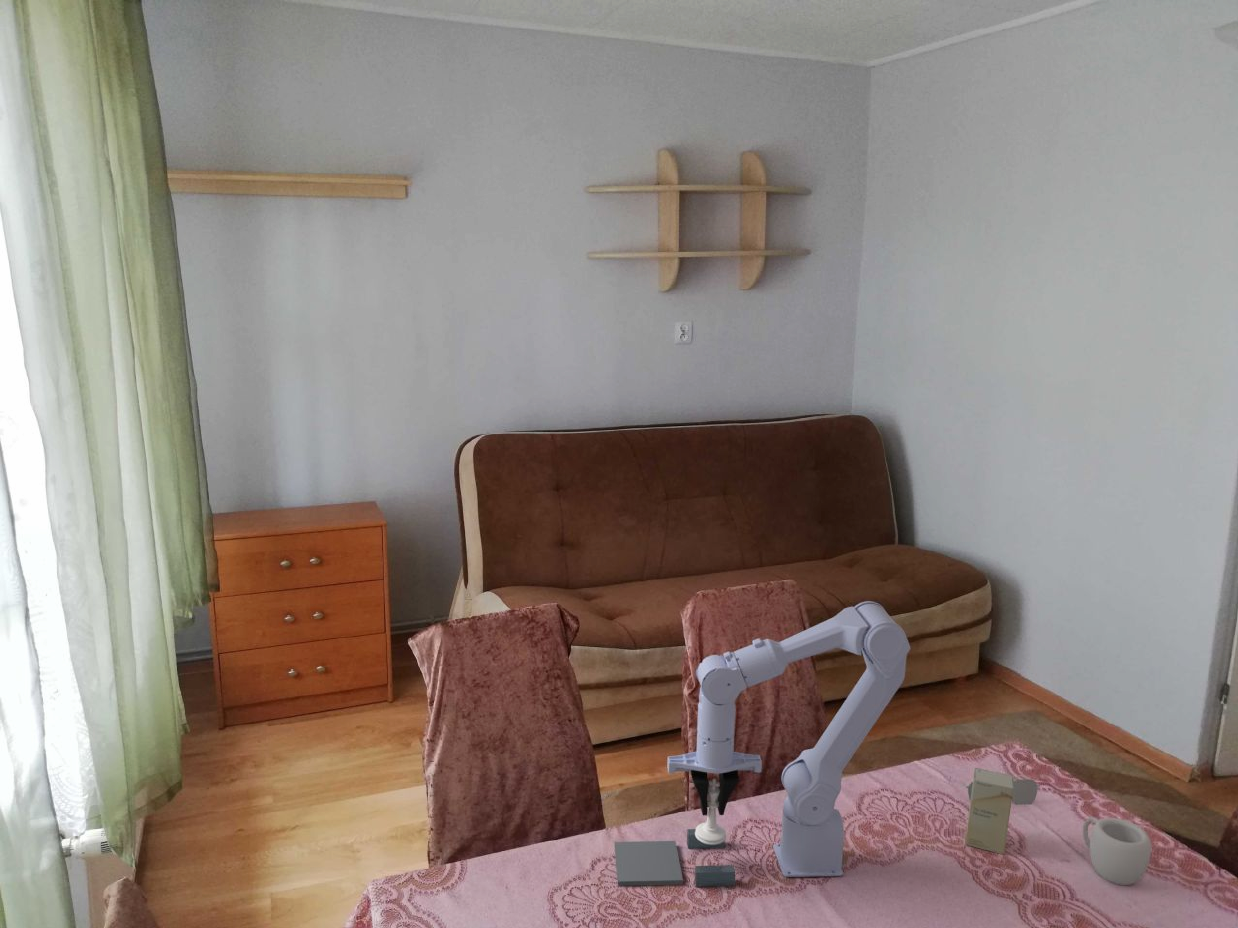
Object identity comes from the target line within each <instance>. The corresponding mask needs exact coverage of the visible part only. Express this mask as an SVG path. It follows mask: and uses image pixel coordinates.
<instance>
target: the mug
mask: <svg viewBox="0 0 1238 928" xmlns="http://www.w3.org/2000/svg"><path fill="white" fill-rule="evenodd" d="M1092 822H1094V825H1093V827H1092V831H1091V833H1090V837H1089V825H1090V823H1092ZM1082 836H1083V840H1084V842H1085V844H1086V845H1087V847H1088V848H1089V855H1090V860H1091V863H1092V864H1091V865H1092V867H1093V868H1094V870H1095V871H1096V873H1097V875H1099V876H1100V877H1101V878H1103V879H1105V880H1106V881H1107V882H1110V883H1112V884H1116V885H1120V886H1130V885H1134V884H1136V883H1138V882H1139V881H1141V879H1142V877H1144V875H1145V874H1146V871H1147V869H1148V867H1149V864H1150V860H1151V856H1152V842H1151V839H1150V837H1149V834H1148V833H1147V832H1146V830H1144V829H1143V828H1142V827H1140V826H1139V825H1138V824H1135V823H1133V822H1130V821H1128V820H1126V819H1122V818H1117V817H1116V818H1115V817H1105V818H1101V819H1098V818H1097V817H1094V816H1089V817H1088V818H1087V819H1085V820H1084V823H1083V827H1082Z"/></svg>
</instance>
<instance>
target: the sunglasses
mask: <svg viewBox="0 0 1238 928" xmlns="http://www.w3.org/2000/svg"><path fill="white" fill-rule="evenodd" d="M1019 777H1022V779H1021V778H1020V779H1018V778H1019ZM951 779H953V780H955V781H956V782H957V783H959V784H960V786H962V787H964V788H965V789H967V796H968V799H969V802H970V801H971V793H972V786H973V781H971V782H970V783H969V784H968V786H967V785H965V784H963V783H961V782H960V781H959V780H957V779H956V778H955V777H953V776H949V779H948V782H951ZM1039 787H1041V785H1040V784H1039V783H1037V782H1036V781H1034V780H1033V779H1030V778H1027V777H1026V776H1024V775H1022V774H1019V775H1017V777H1016V778H1015V779H1014V788H1013V795H1012V803H1014V804H1015V805H1033V803H1034V801H1035V800H1036V799H1037V794H1038V788H1039Z"/></svg>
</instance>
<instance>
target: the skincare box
mask: <svg viewBox="0 0 1238 928" xmlns="http://www.w3.org/2000/svg"><path fill="white" fill-rule="evenodd" d="M1014 777H1015V776H1014V775H1011V774H1008V773H1001V772H998V771H997V772H996V771H993V770H989V769H982V768H978V767H974V772H973V779H972V782H973V786H972V793H971V801H970V800H969V803H970V804H969V810H968V816H967V817H968V818H967V825H966V826H967V827H966V832H965V833H966V834H965V845H966V846H969V847H974V848H976V849H981V850H984V851H988V852H993V853H997V854H1001V855H1004V854H1005V853H1006V844H1007V836H1008V830H1009V823H1010V822H1009V821H1010V815H1011V808H1012V803H1013V801H1012V795H1013V788H1014V781H1015V778H1014Z"/></svg>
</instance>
